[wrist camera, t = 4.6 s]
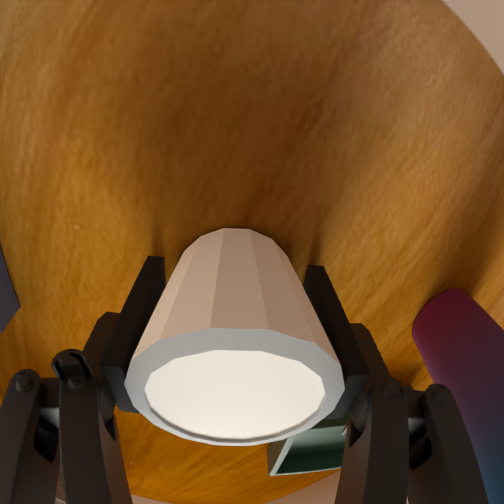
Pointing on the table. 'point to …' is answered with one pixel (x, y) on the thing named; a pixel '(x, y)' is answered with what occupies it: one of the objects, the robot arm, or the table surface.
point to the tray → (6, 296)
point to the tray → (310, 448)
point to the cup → (469, 374)
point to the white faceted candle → (234, 347)
